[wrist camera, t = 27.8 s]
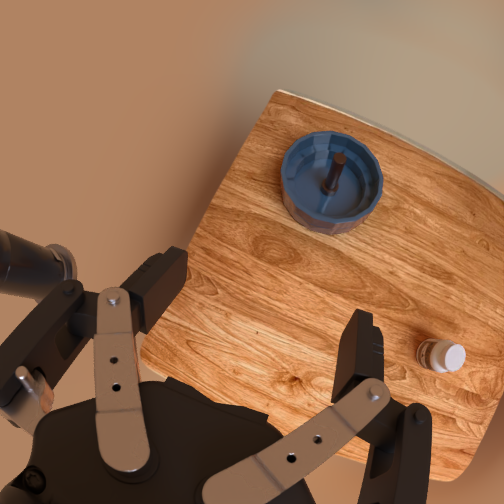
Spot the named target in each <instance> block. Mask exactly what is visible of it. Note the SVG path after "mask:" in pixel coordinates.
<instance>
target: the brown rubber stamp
mask: <svg viewBox="0 0 504 504" xmlns="http://www.w3.org/2000/svg"><path fill="white" fill-rule="evenodd" d="M346 160H347V158H346V156H345V155H344V154H343V153H340V152H338V153H335V154H334V156H333V160H332V163H331V166H330V169H329V172H328V175H327V178H325V179H324V180H323V182H322V185H321V192H322V193H323V194H324V195H325V196H328V197H331V196H334V195H335V194H336V193H337V190H338V188H339V184H338V180H339V178H340V175H341V173H342V170H343V168H344V165H345V163H346Z"/></svg>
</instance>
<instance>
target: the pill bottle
mask: <svg viewBox="0 0 504 504" xmlns="http://www.w3.org/2000/svg"><path fill="white" fill-rule="evenodd" d="M416 357H417V362H418V363H419V365H420V366H421V367H423V368H426V369H429V370H432V371H436V372H440V373H444V372H447V371H457V370H458V369H460V368H461V367H462V365H463V364H464V361H465V350H464V348H463V347H462V346H461V345H459V344H455V343H454V342H452V341H450V340H442V339H427V340H425V341H423V342H422V343H421V344H420V346H419V347H418V349H417V355H416Z"/></svg>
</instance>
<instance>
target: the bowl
mask: <svg viewBox="0 0 504 504" xmlns="http://www.w3.org/2000/svg"><path fill="white" fill-rule="evenodd" d="M338 152H340V153H343V154H344V155H345V156H346V158H347V160H346V163H345V165H344V168H343V170H342V173H341V175H340V178H339V180H338V184H339V188H338V190H337V193H336V194H335V195H334V196H331V197H328V196H325V195H324V194H323V193H322V192H321V185H322V182H323V180H324V179H325V178H327V175H328V172H329V169H330V166H331V163H332V160H333V156H334V154H335V153H338ZM280 187H281V193H282V198H283V203H284V205H285V206H286V208H287V209H288V211H289V212H290V214H291V215H292V217H293V218H294V219H295V220H296V221H298V222H299V223H300V224H302V225H303V226H305V227H306V228H308V229H309V230H312V231H316V232H320V233H324V234H328V235H331V234H338V233H345V232H349V231H350V230H352V229H354V228H355V227H357V226H358V225H360V224H362V223H363V222H364V220H365V219H366V218H367V217H368V216H369V214H370V213H371V212H372V211H373V209H374V207H375V206H376V204H377V203H378V201H379V199H380V198H381V196H382V188H383V175H382V172H381V169H380V166H379V163H378V160H377V159H376V157H375V156H374V155H373V154H372V152H371V151H370V150H369V149H368V148H367V146H366V145H364V144H363V143H361V142H359V141H358V140H356V139H355V138H353V137H352V136H349V135H346V134H343V133H339V132H335V131H321V132H313V133H310V134H308V135H306V136H304V137H302V138H299V139H297V140H296V141H295V142H294V143H293V144H292V146H291V147H290V148H289V149H288V150H287V151H286V153H285V155H284V159H283V163H282V166H281V175H280Z"/></svg>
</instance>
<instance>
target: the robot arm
mask: <svg viewBox="0 0 504 504" xmlns="http://www.w3.org/2000/svg"><path fill="white" fill-rule="evenodd" d="M50 249H51V250H50ZM50 249H48V248H45V247H43V246H40V245H38V244H35V243H33V242H30V241H27V240H25V239H23V238H20V237H18V236H15V235H13V234H10V233H8V232H6V231H3V230H1V229H0V293H3V294H8V295H14V296H19V297H26V298H32V299H36V300H42V301H41V302H40V303H39V304H38V305H37V306H36V307H35V308H34V309H33V310H32V311H31V312H30V313H29V314H28V316H27V317H26V318H25V319H24V320H23V321H22V322H21V323H20V324H19V325H18V326H17V327H16V329H15V330H14V331H13V332H12V333H11V334H10V335H9V336H8V338H7V339H6V340H5V341H4V342H3V343H2V344H1V346H0V414H1V415H2V416H3V417H4V418H5V419H7V420H8V421H9V422H10V423H11V424H12V425H13V426H15V427H18V428H22V429H23V430H25V432H27V433H28V434H29V435H31V436H32V437H33V445H32V452H31V456H30V459H29V462H28V464H27V466H26V468H25V469H24V470H23V471H22V472H21V473H20V474H19V475H18V476H17V477H16V478H14V479H13V480H12V481H11V482H10V483H8V484H7V485H6V486H5V487H4V488H3V489H2V491H1V492H0V504H316V503H315V501H314V499H313V497H312V494H311V492H310V490H309V488H308V486H307V484H306V482H305V480H304V477H305V476H307V475H308V474H309V473H310V472H312V471H313V470H315V469H316V468H317V467H319V466H320V465H321V464H322V463H324V462H325V461H326V460H327V459H328V458H330V457H331V456H332V455H333V454H335V453H336V452H337V451H338V450H340V449H341V448H342V447H343V446H344V445H345V444H347V443H348V442H349V441H350V440H351V439H352V438H353V437H354V436H357V437H359V438H361V439H363V440H364V441H366V442H368V443H370V448H369V453H368V459H367V464H366V469H365V473H364V478H363V482H362V487H361V491H360V495H359V499H358V503H357V504H426V499H427V492H428V483H429V473H430V462H431V445H432V416H431V413H430V411H429V410H428V408H427V407H425V406H424V405H422V404H420V403H412V404H410V405H409V406H408V407H406V406H404V405H402V404H401V403H399V402H397V401H395V400H394V399H393V398H391V397H390V391H389V389H388V387H387V386H386V384H385V383H384V355H383V354H384V348H383V346H384V341H383V335H382V333H381V331H380V328H379V327H376V326H373V314H372V313H369V312H366V311H363V310H360V309H356V310H355V312H354V313H353V315H352V317H351V319H350V321H349V322H348V324H347V326H346V328H345V329H344V331H343V333H342V336H341V339H340V343H339V350H338V357H337V365H336V372H335V379H334V385H333V391H332V398H331V403H334V405H333V406H328V407H327V408H325V409H324V410H323V411H321V412H320V413H318V414H317V415H316V416H314V417H313V418H311V419H310V420H309V421H307V422H306V423H304V424H303V425H301V426H300V427H298V428H297V429H295V430H294V431H292V432H291V433H289V434H288V435H286V436H285V437H284V436H283V435H282V434H281V432H280V431H279V430H278V429H276V428H275V427H274V426H273V425H271V424H270V423H268V422H267V419H268V416H269V415H268V414H264V413H261V412H258V411H255V410H252V409H249V408H247V407H244V406H236V405H229V404H221V403H216V402H213V401H212V400H210V399H209V398H207V397H206V396H204V395H203V394H202V393H200V392H199V391H197V390H196V389H195V388H193V387H192V386H190V385H187V384H185V383H183V382H180V381H178V380H176V379H174V378H172V377H169V376H168V377H167V379H166V381H165V382H160V381H145V382H142V381H141V376H140V370H139V363H138V356H137V348H136V339H135V336H136V334H137V333H138V332H139V331H140V332H142V333H144V334H146V335H147V334H148V333H149V331H150V330H151V329H152V327H153V326H154V325H155V323H156V322H157V321H158V319H159V318H160V317H161V315H162V314H163V313H164V312H165V310H166V309H167V308H168V306H169V305H170V304H171V302H172V301H173V300H174V299H175V297H176V296H177V295H178V293H179V292H180V291H181V290H182V288H183V286H184V284H185V281H186V275H187V260H188V253H187V251H185V250H182V249H179V248H176V247H174V246H171V247H170V248H169V249H168V250H167V251H166V252H165V253H164V254H161V253H158V254H155V255H153V256H151V257H149V258H148V259H147V260H146V261H145V262H144V263H143V265H141V266H140V267H139V268H138V270H136V271H135V272H134V273H133V274H132V275H131V276H130V277H129V278H128V279H127V280H126V281H125V282H124V283H123V284H122V285H121V286H120V287H110V288H107V289H105V290H103V291H102V292H101V293H95V292H89V291H84V288H83V285H82V283H81V282H80V281H78V280H75V279H68V280H67V265H66V262H65V259H64V258H63V256H62V255H61V254H60V253H59V252H57V251H55V250H54V249H52V248H50ZM91 338H92V339H94V378H95V393H96V394H95V395H96V397H95V398H92V399H89V400H86V401H83V402H80V403H77V404H74V405H70V406H67V407H63V408H60V409H57V410H53V411H51V412H50V410H51V409H52V404H53V401H54V393H53V389H54V387H55V386H56V385H57V383H58V382H59V380H60V379H61V378H62V376H63V374H64V373H65V372H66V371H67V369H68V368H69V367H70V365H71V364H72V362H73V361H74V360H75V358H76V357H77V356H78V354H79V353H80V352H81V350H82V349H83V348H84V346H85V345H86V344H87V343H88V341H89V340H90V339H91Z"/></svg>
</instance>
